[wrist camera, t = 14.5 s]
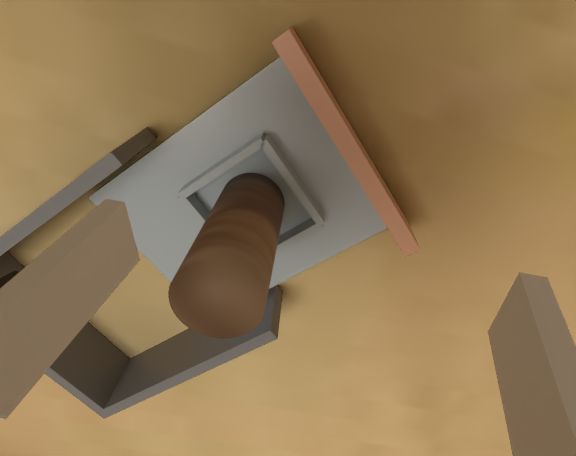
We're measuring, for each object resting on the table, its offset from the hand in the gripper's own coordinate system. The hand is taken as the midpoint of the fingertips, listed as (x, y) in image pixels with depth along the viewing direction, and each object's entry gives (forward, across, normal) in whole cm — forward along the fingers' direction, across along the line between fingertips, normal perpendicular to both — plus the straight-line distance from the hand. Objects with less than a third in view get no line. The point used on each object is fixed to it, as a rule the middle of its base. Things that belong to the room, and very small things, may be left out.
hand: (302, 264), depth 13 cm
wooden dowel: (+14, -7, -8) cm, 18 cm away
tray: (+15, -7, -8) cm, 19 cm away
